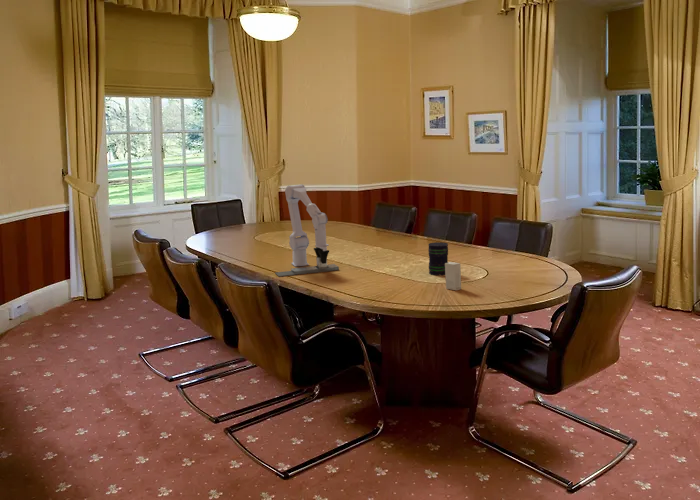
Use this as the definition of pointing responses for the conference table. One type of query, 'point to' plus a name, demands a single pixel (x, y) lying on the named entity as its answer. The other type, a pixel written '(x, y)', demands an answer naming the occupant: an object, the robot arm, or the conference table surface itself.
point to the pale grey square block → (320, 263)
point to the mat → (284, 273)
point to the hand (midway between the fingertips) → (321, 262)
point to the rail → (314, 269)
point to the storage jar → (437, 258)
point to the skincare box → (453, 276)
